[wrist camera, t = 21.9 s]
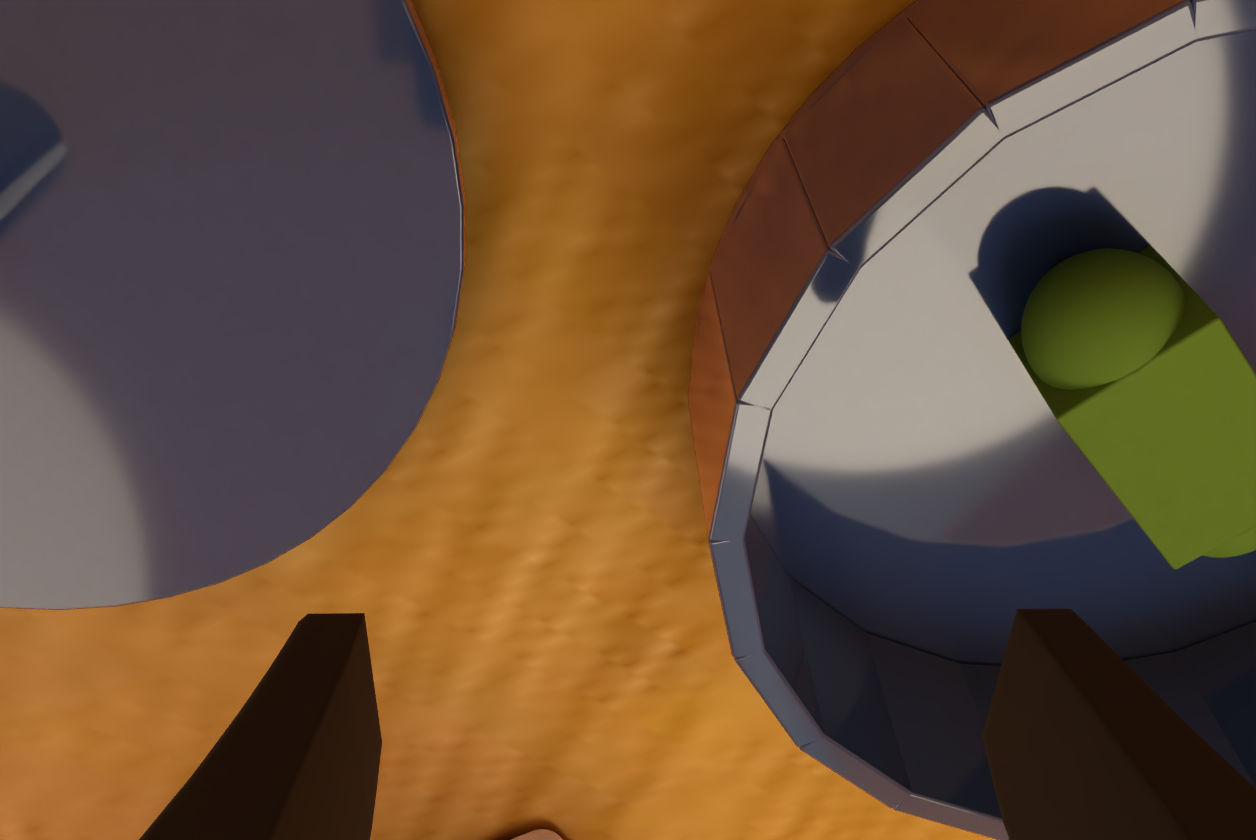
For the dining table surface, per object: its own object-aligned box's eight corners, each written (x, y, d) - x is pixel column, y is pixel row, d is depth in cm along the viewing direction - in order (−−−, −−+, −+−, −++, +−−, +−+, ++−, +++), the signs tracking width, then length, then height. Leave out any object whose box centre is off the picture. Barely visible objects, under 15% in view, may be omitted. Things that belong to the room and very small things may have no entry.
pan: (1621, 479, 25) (1825, 643, 21) (886, 760, 30) (936, 942, 25) (1538, -348, 17) (1852, -345, 13) (524, 211, 21) (509, 351, 17)
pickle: (1281, 445, 24) (1358, 532, 22) (1148, 522, 25) (1206, 613, 23) (1114, 188, 21) (1182, 257, 18) (968, 289, 22) (1015, 366, 19)
